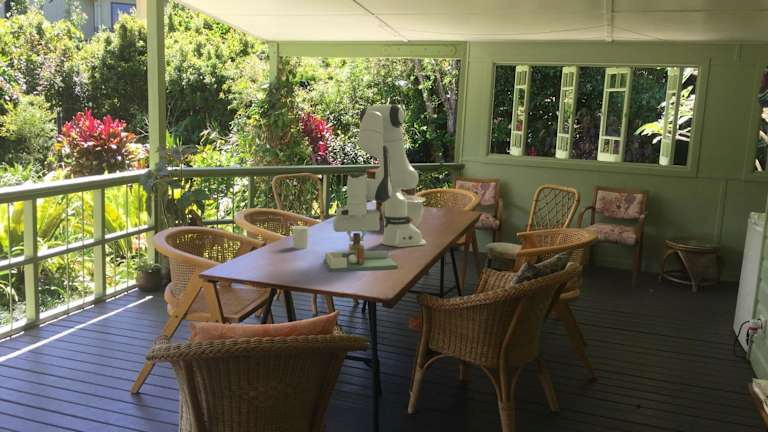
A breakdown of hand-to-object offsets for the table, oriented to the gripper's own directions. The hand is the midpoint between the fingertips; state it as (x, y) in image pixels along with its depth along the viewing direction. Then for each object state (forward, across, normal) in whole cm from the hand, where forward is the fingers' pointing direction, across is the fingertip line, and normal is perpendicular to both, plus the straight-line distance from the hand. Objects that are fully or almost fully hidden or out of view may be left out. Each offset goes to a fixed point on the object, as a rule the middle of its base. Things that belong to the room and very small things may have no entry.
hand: (356, 241), depth 275 cm
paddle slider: (+8, 0, +5) cm, 9 cm away
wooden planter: (+10, -48, -115) cm, 125 cm away
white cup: (+10, +20, -36) cm, 42 cm away
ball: (+6, +3, +8) cm, 11 cm away
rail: (+8, 0, 0) cm, 8 cm away
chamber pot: (+10, -44, -79) cm, 91 cm away
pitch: (+10, 0, +6) cm, 11 cm away
